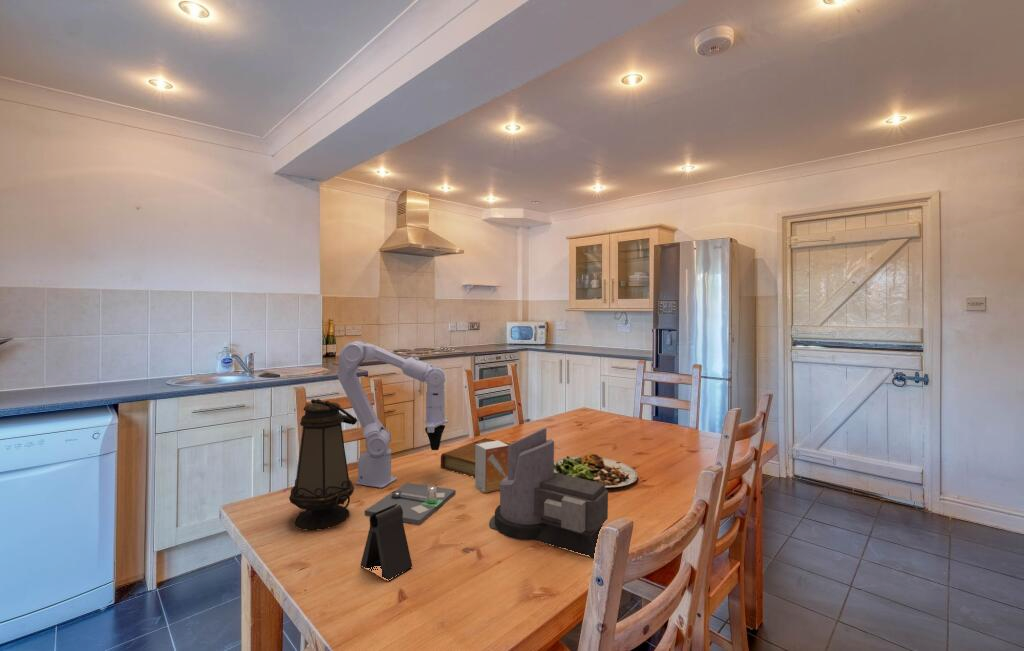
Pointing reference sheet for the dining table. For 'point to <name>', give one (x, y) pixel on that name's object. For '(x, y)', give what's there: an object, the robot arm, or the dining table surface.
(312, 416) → the lantern
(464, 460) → the diary
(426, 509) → the dial board
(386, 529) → the black tent sign
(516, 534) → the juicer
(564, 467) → the plate of food
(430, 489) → the metal crank handle
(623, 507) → the dining table surface
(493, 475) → the small box
